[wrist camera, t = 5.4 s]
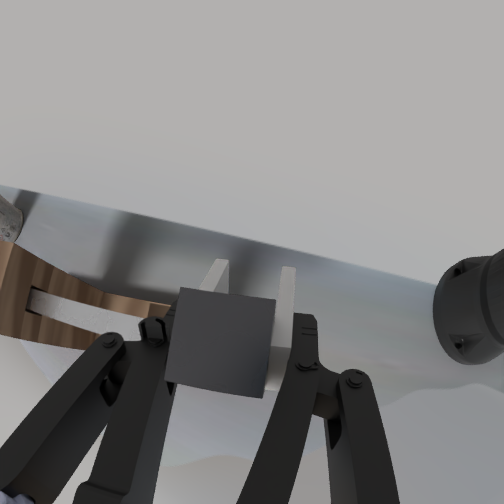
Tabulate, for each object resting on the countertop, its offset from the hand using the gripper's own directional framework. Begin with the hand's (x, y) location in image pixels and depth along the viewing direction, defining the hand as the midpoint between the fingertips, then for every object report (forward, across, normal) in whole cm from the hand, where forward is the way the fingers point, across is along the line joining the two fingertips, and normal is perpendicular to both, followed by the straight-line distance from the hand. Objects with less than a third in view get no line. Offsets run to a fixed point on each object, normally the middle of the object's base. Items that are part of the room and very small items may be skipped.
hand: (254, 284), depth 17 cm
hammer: (+1, -12, -6) cm, 14 cm away
